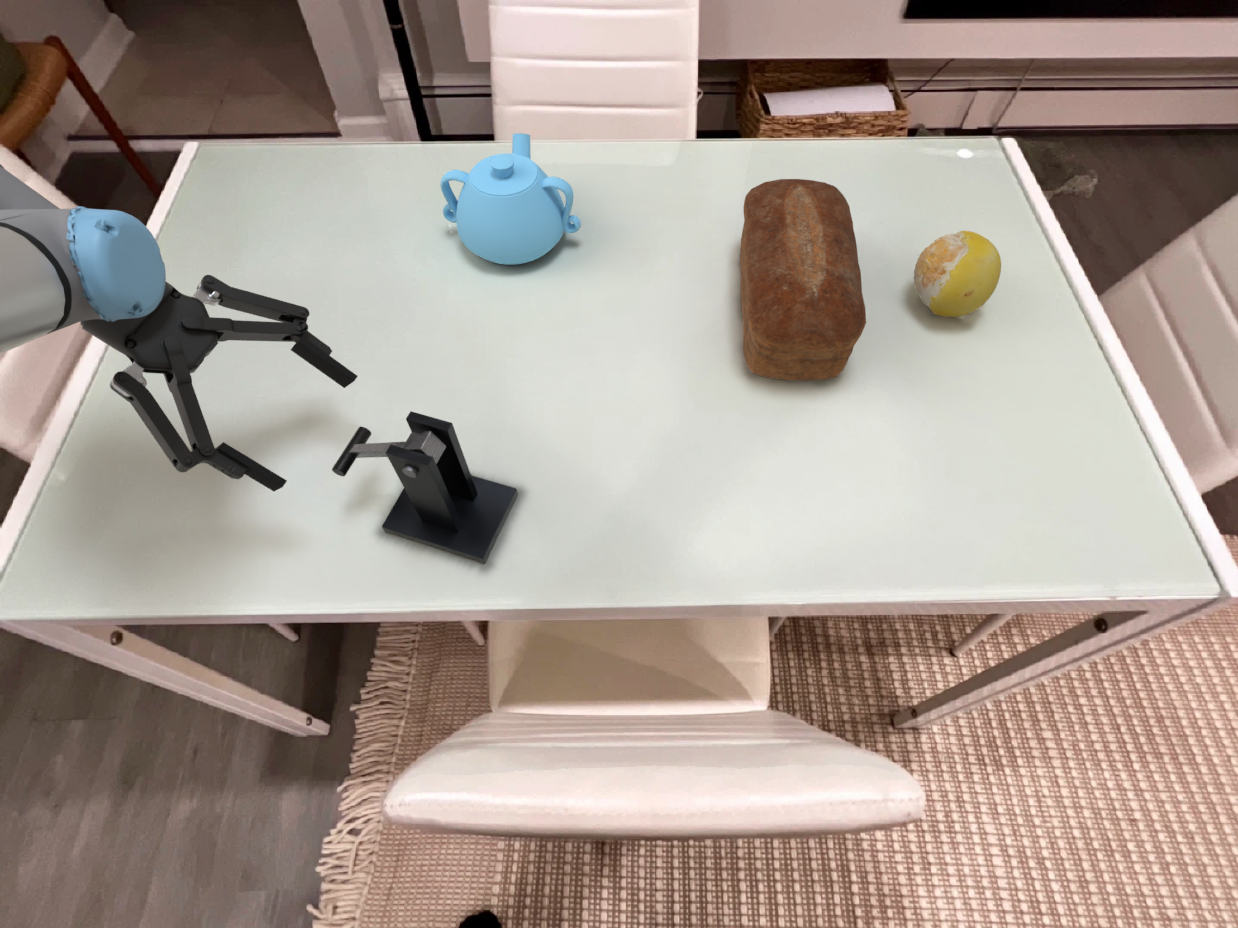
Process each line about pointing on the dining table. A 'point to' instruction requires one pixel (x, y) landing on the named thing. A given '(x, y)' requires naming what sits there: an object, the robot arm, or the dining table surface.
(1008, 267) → the dining table surface
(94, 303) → the robot arm
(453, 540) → the bracket
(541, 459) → the dining table surface
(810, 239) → the bread
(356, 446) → the lever
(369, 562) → the dining table surface
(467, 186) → the teapot
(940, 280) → the fruit
